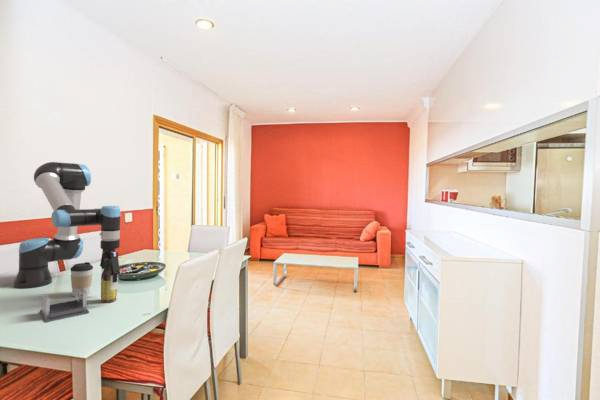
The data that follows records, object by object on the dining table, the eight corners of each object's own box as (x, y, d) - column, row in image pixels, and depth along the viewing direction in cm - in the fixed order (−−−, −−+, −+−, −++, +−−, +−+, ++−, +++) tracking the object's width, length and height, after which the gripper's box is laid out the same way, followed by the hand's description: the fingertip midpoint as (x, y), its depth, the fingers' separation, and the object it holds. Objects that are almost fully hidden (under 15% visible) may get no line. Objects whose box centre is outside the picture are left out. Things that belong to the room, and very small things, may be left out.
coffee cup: (80, 298, 145) (81, 266, 145) (64, 296, 147) (65, 265, 146) (97, 292, 154) (97, 262, 153) (81, 290, 156) (82, 261, 155)
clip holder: (40, 311, 129) (40, 292, 129) (80, 303, 139) (80, 286, 139) (45, 322, 120) (46, 302, 119) (88, 313, 130) (89, 294, 130)
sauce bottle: (105, 298, 147) (106, 256, 146) (119, 298, 147) (120, 256, 147) (97, 303, 140) (98, 259, 140) (112, 303, 141) (113, 260, 140)
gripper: (93, 236, 149) (92, 281, 149) (109, 244, 132) (108, 294, 132) (110, 235, 154) (110, 278, 155) (128, 242, 137) (127, 290, 138)
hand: (109, 285), depth 144 cm, fingers open, 13 cm apart
